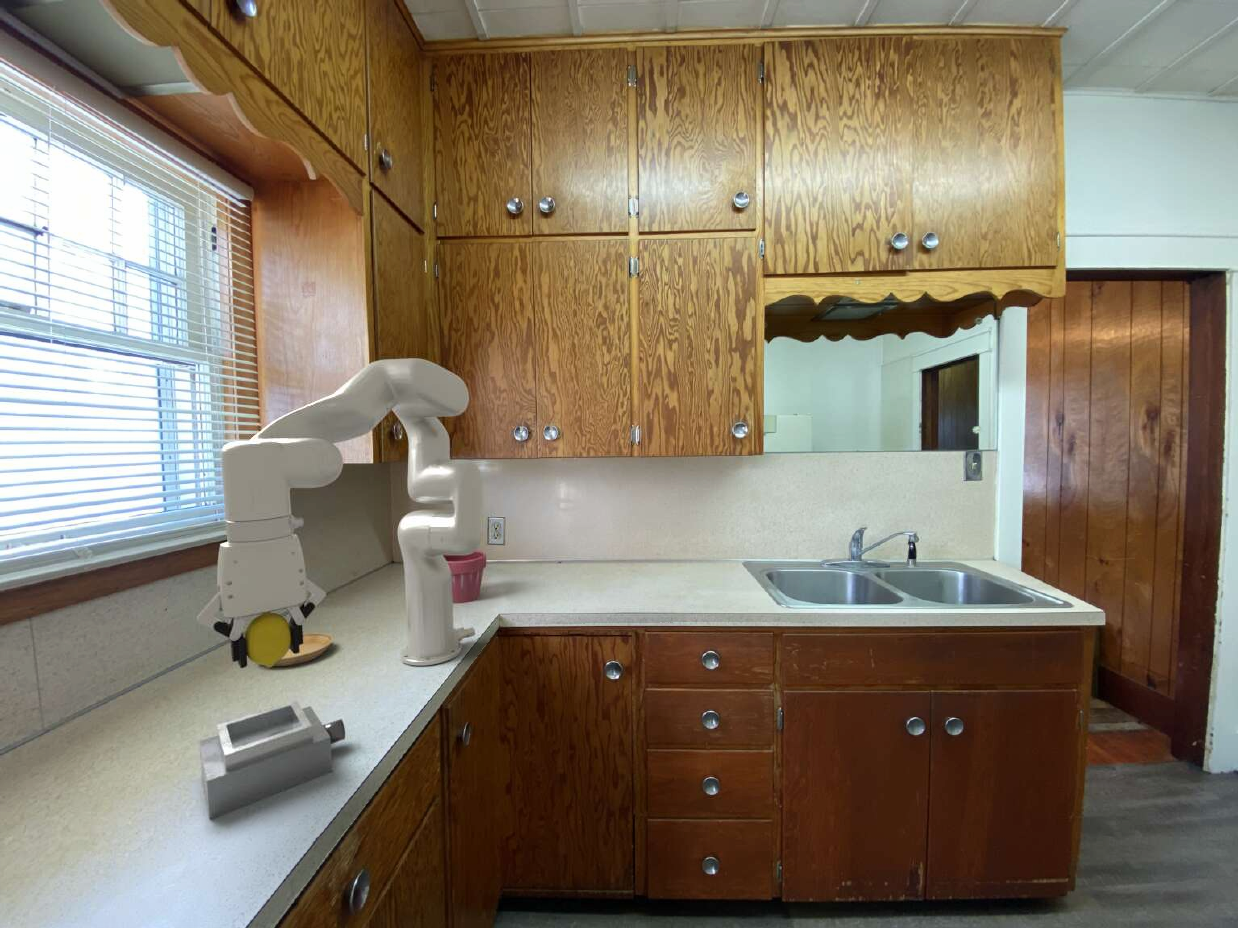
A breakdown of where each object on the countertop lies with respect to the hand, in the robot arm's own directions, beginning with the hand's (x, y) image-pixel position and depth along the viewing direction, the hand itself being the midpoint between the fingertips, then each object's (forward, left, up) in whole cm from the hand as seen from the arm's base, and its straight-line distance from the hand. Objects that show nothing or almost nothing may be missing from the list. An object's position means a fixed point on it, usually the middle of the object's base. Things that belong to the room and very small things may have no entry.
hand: (269, 656), depth 75 cm
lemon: (0, 0, -2) cm, 2 cm away
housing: (-1, -1, -17) cm, 17 cm away
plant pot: (-56, -58, -17) cm, 83 cm away
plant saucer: (-11, -46, -18) cm, 51 cm away
